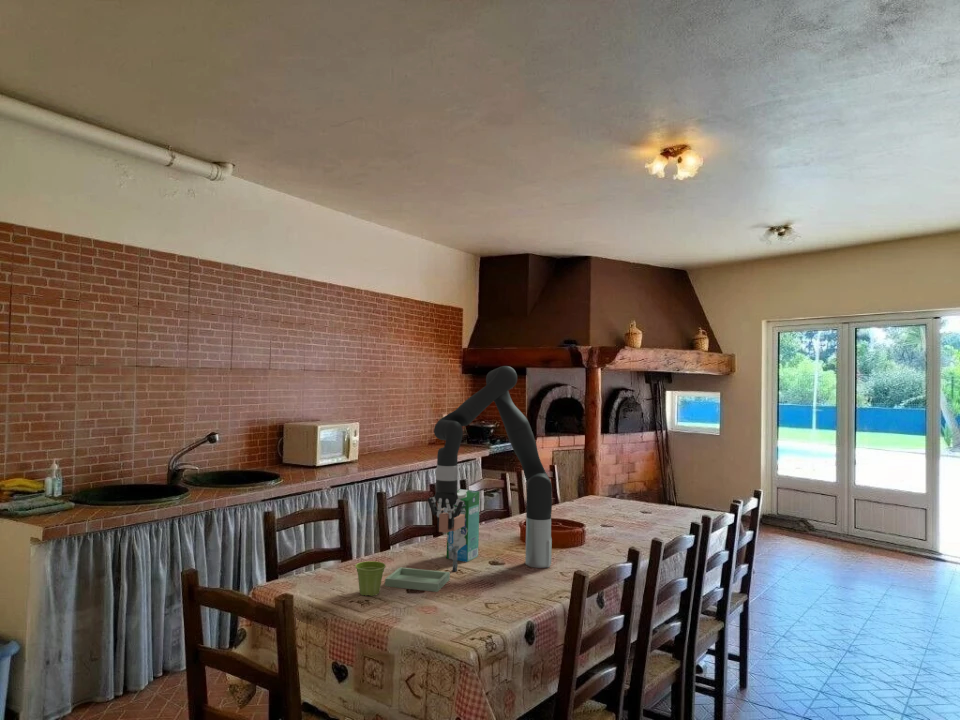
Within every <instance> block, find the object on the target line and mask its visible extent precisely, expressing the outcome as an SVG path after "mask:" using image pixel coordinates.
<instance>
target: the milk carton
mask: <svg viewBox="0 0 960 720" xmlns="http://www.w3.org/2000/svg"><path fill="white" fill-rule="evenodd" d="M480 493H481V492H480V490H479V491H477V490H469V489H462V488H459V489H457V496H458V499H460V500H461V501H465V504H464V506H463V508H462V510H461V513H460V514H465V526H463V527H461V528H459V529H457V530H456V531H449V532H447V533H446V558H445V559H448V560H453V553H452V548H453V547H455V546H459V550H458V552H457V562H458V561H460V562H465V563H467V562H468V563H469V561H472V560H474V559H476V558H478V557H479V538H480V537H479V535H480ZM456 508H457V502H456V503H455V504H454V513H455V510H456ZM446 513H448V512H447V511H446Z"/></svg>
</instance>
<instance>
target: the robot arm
mask: <svg viewBox="0 0 960 720" xmlns="http://www.w3.org/2000/svg"><path fill="white" fill-rule="evenodd" d="M485 382H486V385H485V386H484V387H482V388H481V389H479V390H478V391H477V392H475V393H474V394H472V395H471V396H470V397H468V398H467V399H466V400H465V401H463V403H461V404H460V405H459V406H458V407H457V408H456V409H455V410H453V411H451V412H450V413H448V414H446V415H445V416H443V417H442V418H440V419H439V420H438V421H437V422H436V424H435V425H434V428H433V433H434V436H435V437H436V439H438V440H441V441H445V443H444V446H443V447H440V448H439V449H438V450H437V456H436V463H437V464H436V471H435V494H434V496H432V497H429V498H427V502H428V505H429V508H430V511H431V514H432V515H433V516H435V517H437V527H439V514H441V513H443V512H444V511H445V509H446V513H447V512H448V517H449V519H448V529H449V530H450V529H452V528H453V526H454V518H455V517H457V516H459V515H460V513H461V510H462V508H463V506H464V504H465V501H461V500H460V499H458V496H457V491H458V482H459V479H458V477H459V471H458V469H459V468H458V459H459V458H458V454H459V451H460V448H461V447H460V446H461V443H462V441H463V436H464V435H463V434H464V433H463V427H467V426H468V425H470V424H471V423H473V421H474V420H475V419H476V418H478V416H480V414H481V413H482V412H483V411H485V409H487V407H488V406H490V405H491V404H492V403H493V402H494V403H495V406H496V409H497V410H498V412H499V417H500V418H501V421H502V423H503V426H504V429H505V432H506V435H507V438H508V441H509V444H510V445H511V448H512V450H513V451H514V454H515V455H516V457H517V458H518V461H519V462H520V464H521V468H522V471H523V475H524V478H525V483H526V510H525V511H526V513H525V514H526V515H525V516H526V517H525V522H526V523H525V524H526V525H525V563H524V564H525V565H526V566H527V567H530V568H539V569H540V568H541V569H543V568H550V567H551V564H552V549H553V548H552V544H553V542H552V541H553V539H552V508H553V505H552V503H553V486H552V481H551V480H550V477H549V476H548V474H547V472H546V470H545V468H544V465H543V463H542V461H541V459H540V456H539V451H538V446H537V443H536V439H535V435H534V433H533V431H532V430H533V429H532V427H531V425H530V422H529V420H528V418H527V416H525V414H523V412H522V411H521V410H520V409H519V407H517V406H516V405H515V403H514V402H513V400H512V398H511V394H510V390H511V389H513V388H514V387H515V386H516V384H517V383H518V374H517V372H516V370H515V369H514V368H513V367H511V366H508V365H502V366H499V367H497V368H494V369H493V370H490V371H489V372H488V373H487V374H486V379H485ZM456 502H457V508H456V510H455V513H454V504H455V503H456ZM436 503H437V504H438V505H437V504H436Z"/></svg>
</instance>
